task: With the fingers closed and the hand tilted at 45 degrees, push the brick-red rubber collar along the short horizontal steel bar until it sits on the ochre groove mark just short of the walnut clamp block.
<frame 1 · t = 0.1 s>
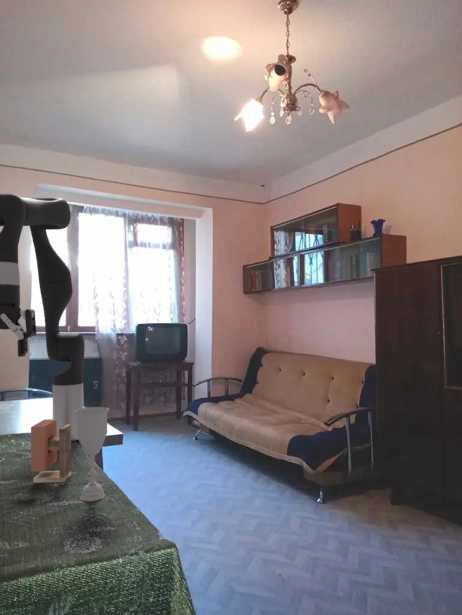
hand: (2, 357, 102), 29 cm above the table, tool pointing down, fingers open, 8 cm apart
pipe stand: (52, 478, 108), on the table
collar: (44, 444, 108), point 8 cm above the table, slide at 0.0 cm
chalice: (92, 497, 97), on the table
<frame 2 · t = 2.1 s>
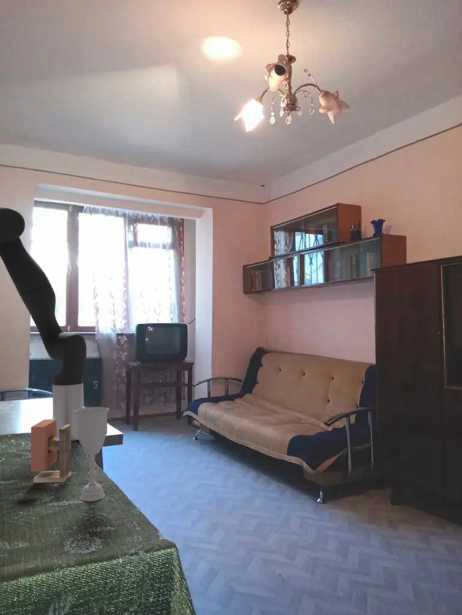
nothing on the table moved.
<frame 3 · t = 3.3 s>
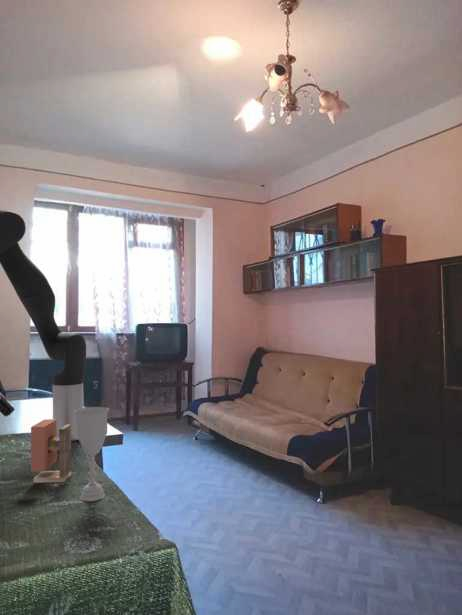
hand: (10, 413, 108), 15 cm above the table, tool tilted 45°, fingers closed
nothing on the table moved.
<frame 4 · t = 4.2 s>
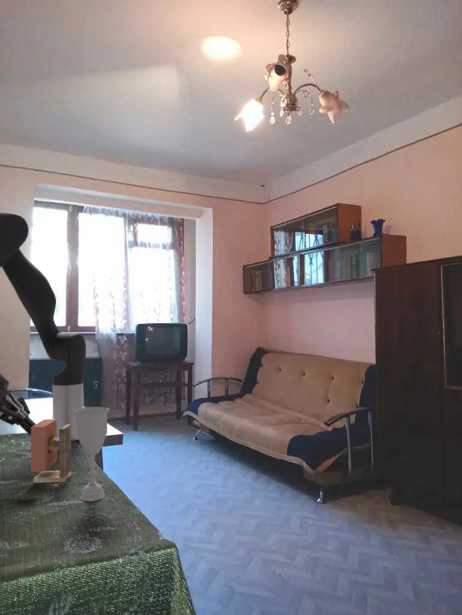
hand: (35, 432, 108), 11 cm above the table, tool tilted 45°, fingers closed
collar: (44, 444, 108), point 8 cm above the table, slide at 0.0 cm, touching gripper
everything else where it was.
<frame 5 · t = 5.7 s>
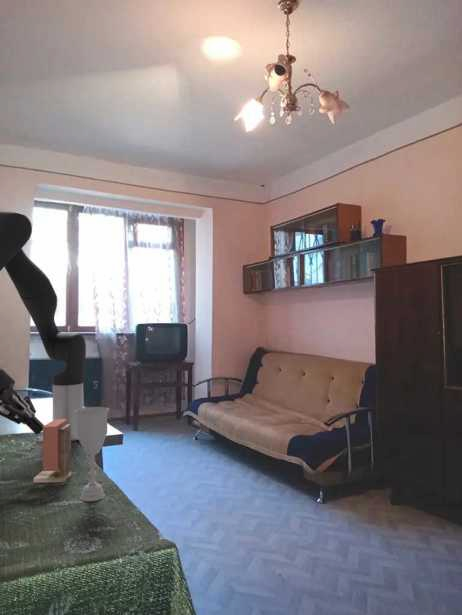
hand: (41, 431, 108), 11 cm above the table, tool tilted 45°, fingers closed
collar: (55, 444, 108), point 8 cm above the table, slide at 2.6 cm
everything else where it was.
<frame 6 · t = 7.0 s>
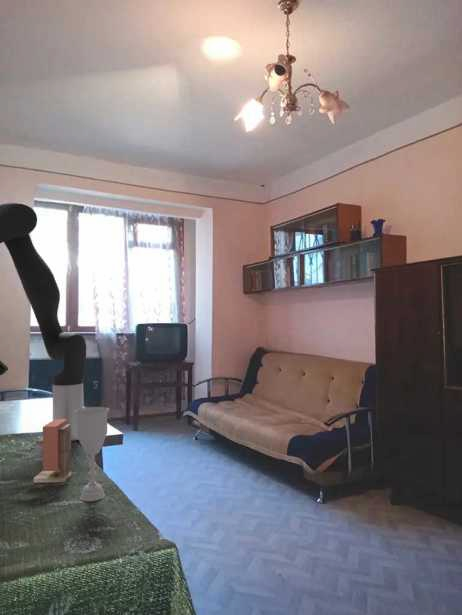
hand: (4, 372, 112), 25 cm above the table, tool tilted 45°, fingers closed
nothing on the table moved.
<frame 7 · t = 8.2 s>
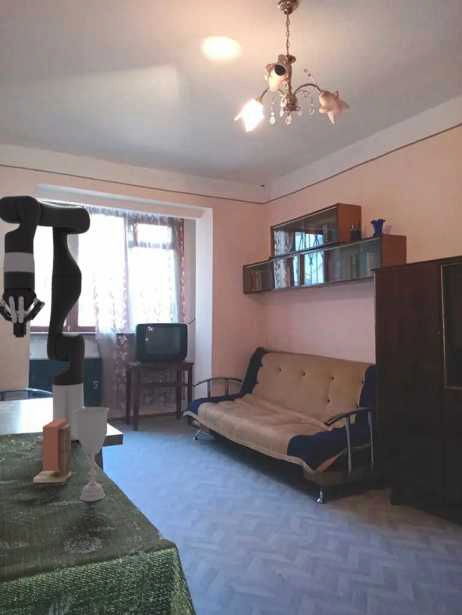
hand: (19, 337, 121), 33 cm above the table, tool pointing down, fingers closed
nothing on the table moved.
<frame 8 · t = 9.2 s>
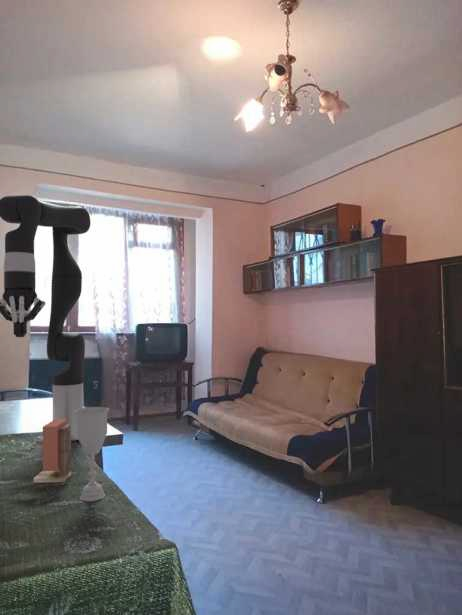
hand: (20, 337, 121), 33 cm above the table, tool pointing down, fingers closed
nothing on the table moved.
at the end: collar slide at 2.6 cm; the gripper is holding nothing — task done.
